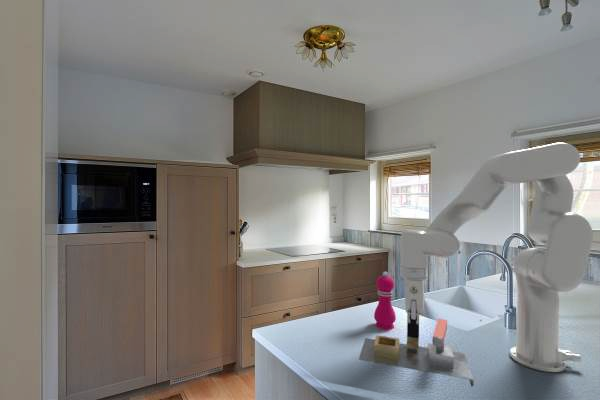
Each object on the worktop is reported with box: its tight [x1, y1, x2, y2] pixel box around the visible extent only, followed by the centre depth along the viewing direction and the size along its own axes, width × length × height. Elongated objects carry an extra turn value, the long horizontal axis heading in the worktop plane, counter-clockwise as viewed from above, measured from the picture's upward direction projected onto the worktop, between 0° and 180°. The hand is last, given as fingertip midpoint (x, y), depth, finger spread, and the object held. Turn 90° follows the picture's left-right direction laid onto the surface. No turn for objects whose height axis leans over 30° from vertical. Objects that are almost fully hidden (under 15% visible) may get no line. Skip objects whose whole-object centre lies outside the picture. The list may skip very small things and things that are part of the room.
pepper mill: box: [373, 271, 397, 331], centre depth 110 cm, size 7×7×20 cm
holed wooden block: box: [374, 334, 400, 360], centre depth 91 cm, size 7×7×3 cm
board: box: [358, 337, 475, 385], centre depth 89 cm, size 28×14×4 cm, turn 71°
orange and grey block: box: [431, 318, 448, 352], centre depth 86 cm, size 15×3×6 cm, turn 151°
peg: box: [406, 311, 420, 349], centre depth 94 cm, size 3×3×12 cm
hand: (412, 333), depth 94 cm, fingers closed on peg, 3 cm apart
